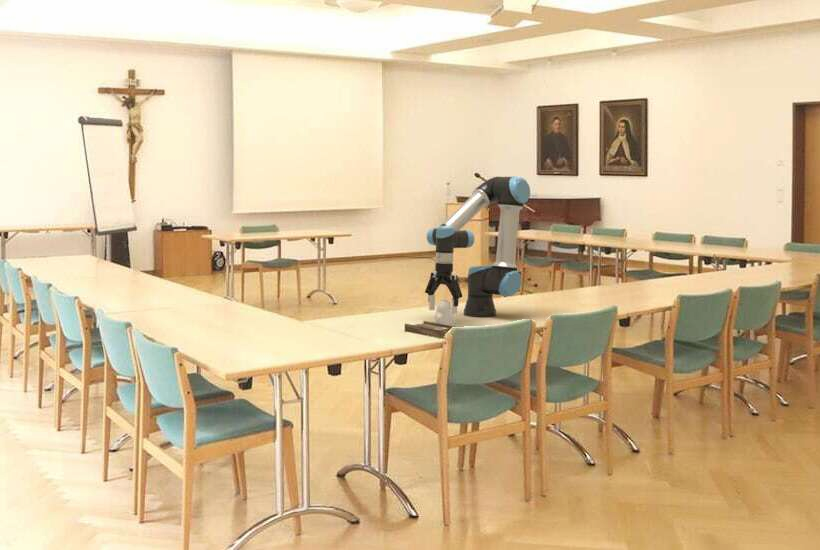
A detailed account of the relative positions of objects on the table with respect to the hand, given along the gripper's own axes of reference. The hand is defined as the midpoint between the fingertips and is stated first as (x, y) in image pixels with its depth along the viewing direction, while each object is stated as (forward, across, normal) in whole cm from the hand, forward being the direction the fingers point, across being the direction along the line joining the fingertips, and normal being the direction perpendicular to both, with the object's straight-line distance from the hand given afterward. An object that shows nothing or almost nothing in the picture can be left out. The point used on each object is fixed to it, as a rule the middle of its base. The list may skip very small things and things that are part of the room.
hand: (442, 312), depth 383 cm
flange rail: (+7, +7, -12) cm, 16 cm away
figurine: (+7, 0, 0) cm, 7 cm away
